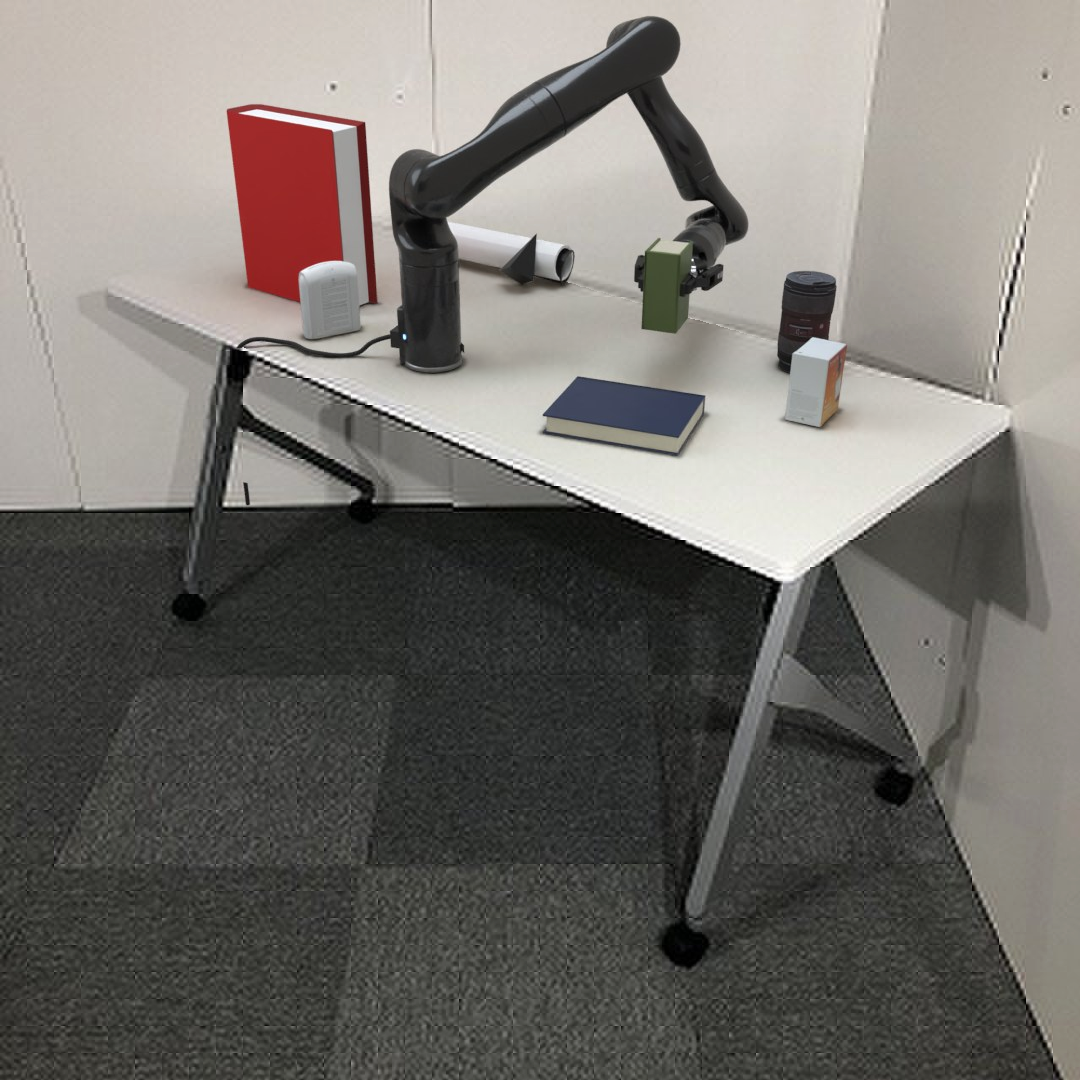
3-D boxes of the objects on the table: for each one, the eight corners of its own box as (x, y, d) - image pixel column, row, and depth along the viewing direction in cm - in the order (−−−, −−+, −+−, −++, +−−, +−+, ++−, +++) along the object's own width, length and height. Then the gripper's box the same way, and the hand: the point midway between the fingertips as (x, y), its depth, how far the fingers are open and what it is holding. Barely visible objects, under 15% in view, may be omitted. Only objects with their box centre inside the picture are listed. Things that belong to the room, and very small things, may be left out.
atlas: (542, 433, 172) (542, 414, 171) (577, 394, 184) (577, 376, 183) (677, 455, 166) (678, 436, 164) (704, 414, 178) (705, 395, 177)
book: (377, 303, 219) (365, 122, 203) (346, 315, 214) (331, 129, 198) (274, 275, 233) (255, 103, 217) (243, 285, 228) (221, 110, 212)
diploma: (425, 270, 247) (389, 243, 235) (441, 228, 247) (406, 199, 235) (568, 302, 230) (537, 275, 218) (584, 257, 230) (554, 228, 219)
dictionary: (641, 329, 181) (644, 251, 174) (654, 314, 186) (658, 237, 180) (675, 333, 179) (680, 255, 173) (688, 318, 184) (693, 241, 178)
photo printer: (354, 323, 210) (348, 254, 204) (365, 330, 207) (359, 260, 201) (299, 334, 206) (292, 264, 199) (310, 342, 203) (303, 271, 196)
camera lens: (835, 371, 192) (848, 280, 185) (794, 380, 189) (806, 288, 182) (804, 354, 199) (816, 266, 191) (764, 362, 196) (774, 273, 188)
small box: (820, 428, 174) (829, 360, 168) (783, 420, 176) (791, 352, 171) (839, 409, 180) (848, 343, 174) (803, 401, 182) (812, 335, 177)
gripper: (649, 226, 191) (617, 257, 177) (738, 236, 187) (711, 268, 173) (647, 272, 195) (615, 306, 181) (734, 282, 190) (708, 318, 177)
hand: (662, 287), depth 177 cm, fingers closed on dictionary, 5 cm apart
